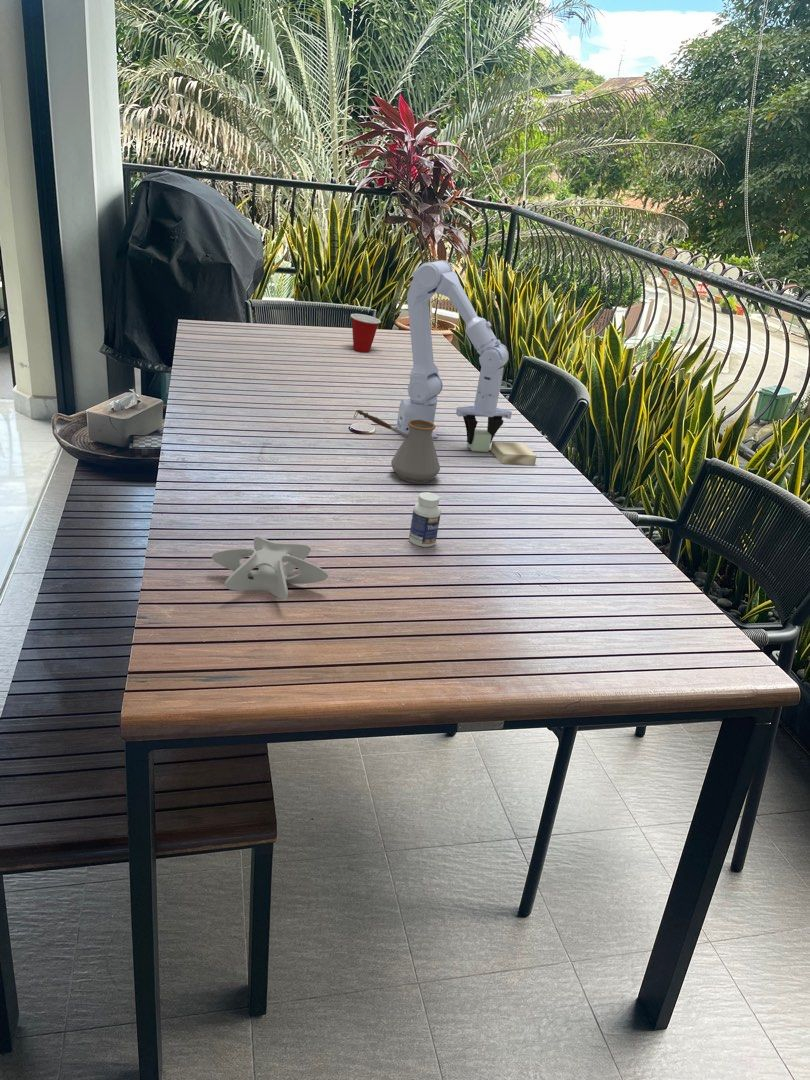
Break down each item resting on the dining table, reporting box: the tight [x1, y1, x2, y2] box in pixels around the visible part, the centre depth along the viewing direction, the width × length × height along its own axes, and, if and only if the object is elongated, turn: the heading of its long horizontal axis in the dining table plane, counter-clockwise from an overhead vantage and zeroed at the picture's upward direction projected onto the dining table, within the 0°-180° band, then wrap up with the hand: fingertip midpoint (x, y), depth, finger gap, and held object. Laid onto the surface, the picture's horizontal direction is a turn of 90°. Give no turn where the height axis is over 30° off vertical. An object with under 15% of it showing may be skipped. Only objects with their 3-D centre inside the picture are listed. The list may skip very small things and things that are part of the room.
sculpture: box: [211, 536, 329, 600], centre depth 141 cm, size 18×20×6 cm
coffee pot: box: [353, 409, 441, 484], centre depth 191 cm, size 21×12×15 cm, turn 99°
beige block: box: [489, 441, 537, 466], centre depth 216 cm, size 9×9×3 cm
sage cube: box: [466, 428, 492, 452], centre depth 218 cm, size 4×4×4 cm
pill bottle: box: [408, 491, 442, 548], centre depth 163 cm, size 5×5×10 cm
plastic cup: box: [350, 313, 382, 353], centre depth 296 cm, size 11×11×12 cm
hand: (478, 443), depth 218 cm, fingers closed on sage cube, 4 cm apart
